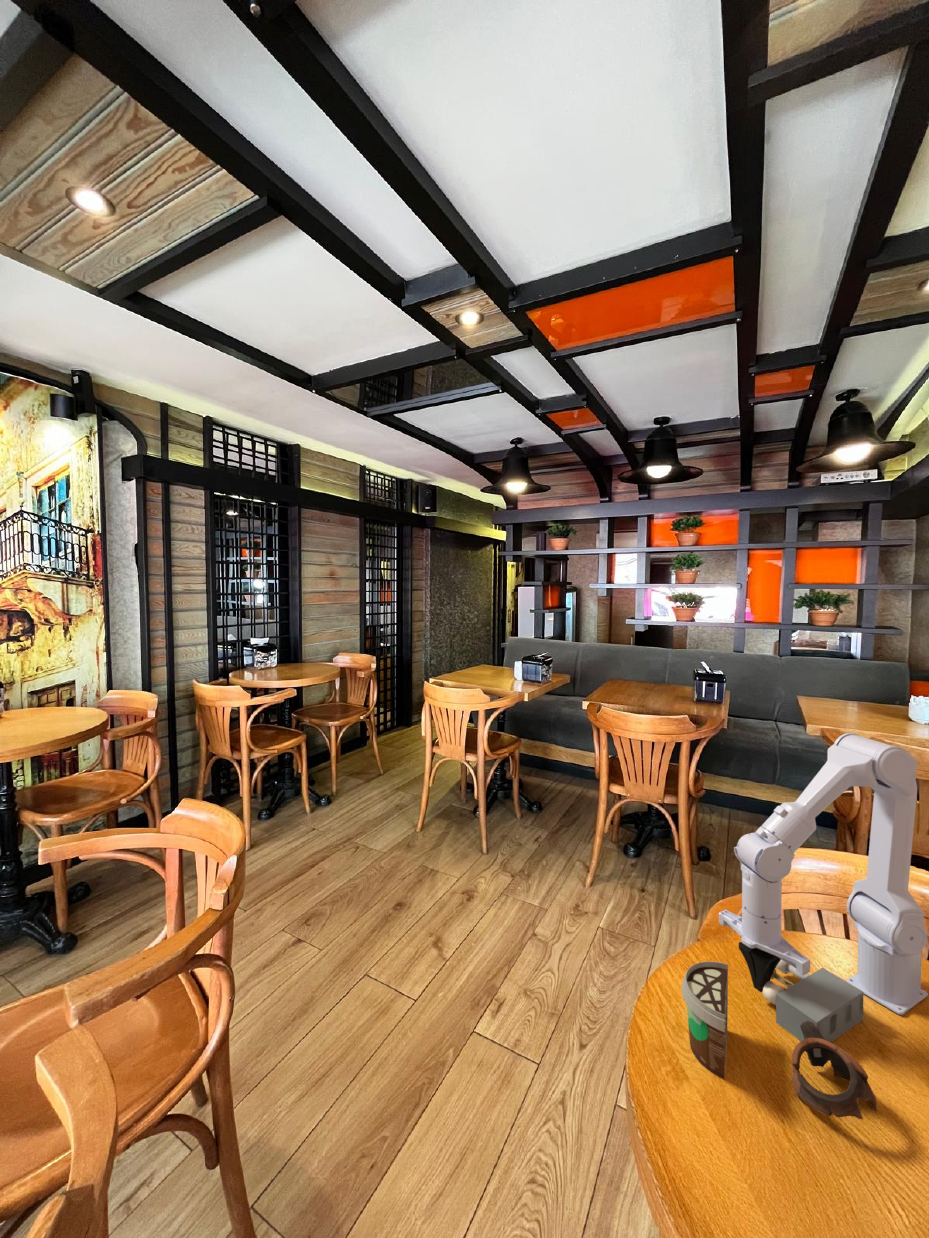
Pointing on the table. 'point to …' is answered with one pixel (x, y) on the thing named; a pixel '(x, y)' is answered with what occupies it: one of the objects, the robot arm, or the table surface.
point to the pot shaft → (781, 979)
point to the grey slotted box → (820, 1005)
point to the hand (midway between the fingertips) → (760, 987)
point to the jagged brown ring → (842, 1068)
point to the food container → (707, 1013)
